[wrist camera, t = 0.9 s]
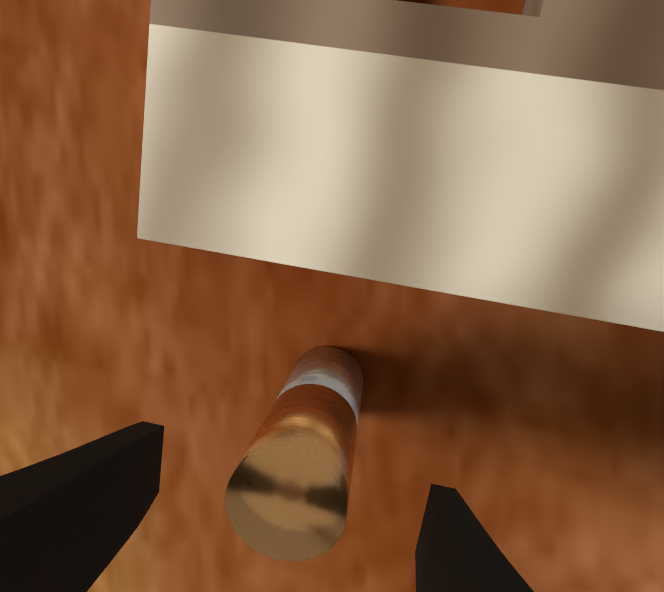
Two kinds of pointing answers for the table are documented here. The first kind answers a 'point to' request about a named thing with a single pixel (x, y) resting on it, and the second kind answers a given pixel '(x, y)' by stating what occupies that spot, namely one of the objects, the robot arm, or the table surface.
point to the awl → (301, 461)
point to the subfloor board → (417, 145)
